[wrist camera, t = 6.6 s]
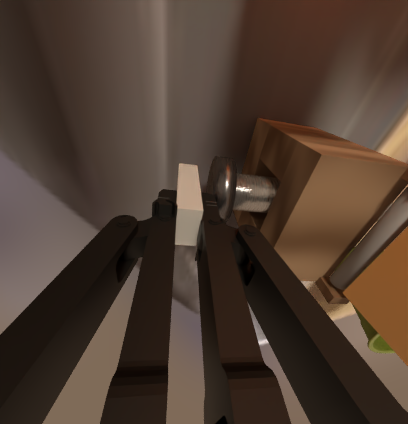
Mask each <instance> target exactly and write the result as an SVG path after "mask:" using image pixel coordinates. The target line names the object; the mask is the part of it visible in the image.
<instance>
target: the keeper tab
mask: <svg viewBox="0 0 408 424" xmlns="http://www.w3.org/2000/svg"><path fill="white" fill-rule="evenodd" d="M407 226H408V187H407V188H406V189H405V190H404V191H403V192H402V194H401V195H400V196H399V197H398V198H397V199H396V201H395V202H394V203H393V204H392V205H391V206H390V208H389V209H388V210H387V211H386V212H385V213H384V215H383V216H382V217H381V218H380V219H379V220H378V222H377V223H376V224H375V225H374V226H373V227H372V229H371V230H370V231H369V232H368V233H367V234H366V236H365V237H364V238H363V239H362V240H361V241H360V243H359V244H358V245H357V246H356V247H355V248H354V250H353V251H352V252H351V253H350V254H349V255H348V257H347V258H346V259H345V260H344V261H343V262H342V264H341V265H340V266H339V267H338V268H337V269H336V271H335V272H334V273H333V274H332V275H331V276H330V282H331V283H332V284H333V285H334V286H335V287H337V288H339V289H341V290H345V289H346V288H347V287H348V286H349V285H350V284H351V283H352V282H353V281H354V280H355V279H356V278H357V277H358V276H359V275H360V274H361V273H362V272H363V271H364V270H365V269H366V268H367V269H366V270H365V271H364V272H363V273H362V274H361V275H360V276H359V277H358V278H357V279H356V280H355V281H354V282H353V283H352V284H351V285H350V286H349V287H348V288H347V289H346V290H345V291H344V292H343V294H344V295H345V296H346V297H347V299H348V300H349V301H350V302H351V303H352V304H353V305H354V306H355V308H356V309H357V310H358V311H359V312H360V313H361V314H362V315H363V317H364V318H365V319H366V320H367V321H368V322H369V323H370V324H371V326H372V327H373V328H374V329H375V330H376V331H377V332H378V333H379V335H380V336H381V337H382V338H383V339H384V340H385V341H386V342H387V344H388V345H389V346H390V347H391V348H392V349H393V350H394V351H395V353H396V354H397V355H398V356H399V357H400V358H401V359H402V360H403V362H404V363H405V364H406V365H407V366H408V227H407ZM406 227H407V228H406ZM405 228H406V229H405ZM404 229H405V230H404ZM403 230H404V231H403ZM402 231H403V232H402ZM401 232H402V233H401ZM400 233H401V234H400ZM399 234H400V235H399ZM398 235H399V236H398ZM397 236H398V237H397ZM396 237H397V238H396ZM395 238H396V239H395ZM394 239H395V240H394ZM393 240H394V241H393Z"/></svg>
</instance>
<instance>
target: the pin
mask: <svg viewBox="0 0 408 424" xmlns="http://www.w3.org/2000/svg"><path fill="white" fill-rule="evenodd" d="M280 183H281V182H280V181H279V179H278V178H272V177H264V176H256V175H247V174H239V173H237V169H236V164H235V161H234V159H233V158H227V157H220V156H215V157H214V159H213V161H212V164H211V167H210V171H209V176H208V182H207V191H206V193H208V194H212V195H213V196H214V197H215V198H216V203H217V206H218V210H219V214H220V217H221V218H223V219H224V221H225V222H227V221H228V219H229V217H230V215H231V213H232V210H239V211H250V212H261V213H268V211H269V209H270V206H271V204H272V202H273V199H274V197H275V195H276V192H277V190H278V188H279V185H280ZM392 204H393V202H392V203H391V204H390V206H391V205H392ZM390 206H389V207H388V208H387V209H386V210H385V211H384V213H385V212H386V211H387V210H388V209H389V208H390ZM384 213H383V214H382V215H381V216H380V217H379V219H380V218H381V217H382V216H383V215H384ZM379 219H378V220H379ZM378 220H377V221H378Z"/></svg>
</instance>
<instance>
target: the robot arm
mask: <svg viewBox="0 0 408 424" xmlns="http://www.w3.org/2000/svg"><path fill="white" fill-rule="evenodd" d="M197 242H198V247H197V252H196V257H195V261H197V268H198V284H199V300H200V316H201V332H202V346H203V362H204V363H203V364H204V378H205V379H204V380H205V400H204V424H291V422H290V418H289V415H288V412H287V408H286V405H285V402H284V398H283V395H282V392H281V389H280V386H279V383H278V380H277V378H276V376H275V374H274V372H273V371H272V370H271V369H270V368H269V367H268V366H266V364H265V363H264V361H263V358H262V355H261V351H260V347H259V343H258V340H257V336H256V333H255V329H254V325H253V322H252V318H251V314H250V311H249V307H248V303H249V305H250V307H251V309H252V311H253V313H254V315H255V317H256V319H257V321H258V323H259V324H260V326H261V328H262V330H263V332H264V334H265V336H266V338H267V340H268V342H269V344H270V346H271V348H272V349H273V351H274V354H275V355H276V357H277V359H278V361H279V363H280V365H281V367H282V369H283V371H284V373H285V375H286V377H287V379H288V380H289V382H290V384H291V387H292V388H293V390H294V392H295V394H296V396H297V398H298V400H299V402H300V404H301V406H302V408H303V410H304V411H305V414H306V415H307V417H308V419H309V421H310V423H311V424H408V412H407V411H405V410H404V409H403V408H402V406H401V405H400V404H399V403H398V402H397V400H396V399H395V398H394V397H393V396H392V394H391V393H390V392H389V390H388V389H387V388H386V387H385V386H384V384H383V383H382V382H381V381H380V379H379V378H378V377H377V376H376V374H375V373H374V372H373V371H372V369H371V368H370V367H369V366H368V364H367V363H366V362H365V361H364V359H363V358H362V357H361V356H360V355H359V353H358V352H357V351H356V349H355V348H354V347H353V346H352V345H351V343H350V342H349V341H348V340H347V338H346V337H345V336H344V335H343V333H342V332H341V331H340V330H339V328H338V327H337V326H336V325H335V324H334V322H333V321H332V320H331V319H330V317H329V316H328V315H327V314H326V312H325V311H324V310H323V309H322V307H321V306H320V305H319V304H318V302H317V301H316V300H315V299H314V297H313V296H312V295H311V294H310V292H309V291H308V290H307V289H306V288H305V286H304V285H303V284H302V283H301V281H300V280H299V279H298V278H297V276H296V275H295V274H294V273H293V271H292V270H291V269H290V268H289V266H288V265H287V264H286V263H285V262H284V260H283V259H282V258H281V257H280V255H279V254H278V253H277V252H276V250H275V249H274V248H273V247H272V245H271V244H270V243H269V242H268V240H267V239H266V238H265V237H264V235H263V234H262V233H261V232H260V231H259V230H258V229H257V228H256V227H254V226H252V225H247V224H244V225H241V226H240V227H239V229H236V228H233V227H230V226H228V225H226V223H225V221H224V219H223V218H221V217H220V214H219V210H218V206H217V203H216V198H215V197H214V196H213V195H212V194H208V193H201V190H200V183H199V175H198V168H197V165H189V164H181V163H179V171H178V181H177V191H175V190H166V189H163V190H161V191H160V192H159V195H158V199H157V200H155V201H154V202H153V204H152V217H151V218H150V219H147V220H143V221H137V219H136V218H135V217H133V216H130V215H120V216H117V217H115V218H113V219H112V220H111V221H110V222H109V223H108V224H107V225H106V226H105V227H104V228H103V229H102V230H101V231H100V232H99V233H98V234H97V235H96V236H95V238H93V239H92V240H91V241H90V242H89V244H88V245H87V246H86V247H85V248H84V249H83V250H82V251H81V252H80V253H79V254H78V255H77V256H76V257H75V258H74V259H73V260H72V261H71V262H70V263H69V264H68V265H67V266H66V267H65V268H64V269H63V270H62V271H61V273H60V274H59V275H58V276H57V277H56V278H55V279H54V280H53V281H52V282H51V283H50V284H49V285H48V286H47V287H46V288H45V289H44V290H43V291H42V292H41V293H40V294H39V295H38V296H37V297H36V298H35V300H34V301H33V302H32V303H31V304H30V305H29V306H28V307H27V308H26V309H25V310H24V311H23V312H22V313H21V314H20V315H19V316H18V317H17V318H16V319H15V320H14V321H13V322H12V323H11V325H9V326H8V327H7V328H6V330H5V331H4V332H3V333H2V334H1V335H0V424H42V423H43V421H44V420H45V418H46V416H47V414H48V413H49V411H50V409H51V408H52V406H53V404H54V403H55V401H56V399H57V397H58V396H59V394H60V392H61V391H62V389H63V387H64V386H65V384H66V382H67V380H68V379H69V377H70V375H71V374H72V372H73V370H74V368H75V367H76V365H77V363H78V362H79V360H80V358H81V356H82V355H83V353H84V351H85V350H86V348H87V346H88V344H89V343H90V341H91V339H92V338H93V336H94V334H95V333H96V331H97V329H98V327H99V326H100V324H101V322H102V321H103V319H104V317H105V315H106V314H107V312H108V310H109V309H110V307H111V305H112V304H113V302H114V300H115V298H116V297H117V295H118V293H119V292H120V290H121V288H122V287H123V285H124V283H125V281H126V280H127V278H128V276H129V275H130V273H131V271H132V269H133V268H134V266H135V264H136V263H137V261H138V258H140V257H143V259H142V263H141V267H140V272H139V276H138V281H137V285H136V289H135V293H134V298H133V302H132V307H131V311H130V315H129V319H128V324H127V328H126V333H125V337H124V341H123V346H122V350H121V354H120V359H119V363H118V367H117V370H116V372H115V374H114V376H113V378H112V381H111V383H110V386H109V389H108V394H107V397H106V401H105V405H104V409H103V413H102V417H101V421H100V424H166V410H167V392H168V358H169V340H170V322H171V304H172V287H173V269H174V251H175V245H189V246H196V245H197ZM246 299H247V300H246ZM247 301H248V303H247Z"/></svg>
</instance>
